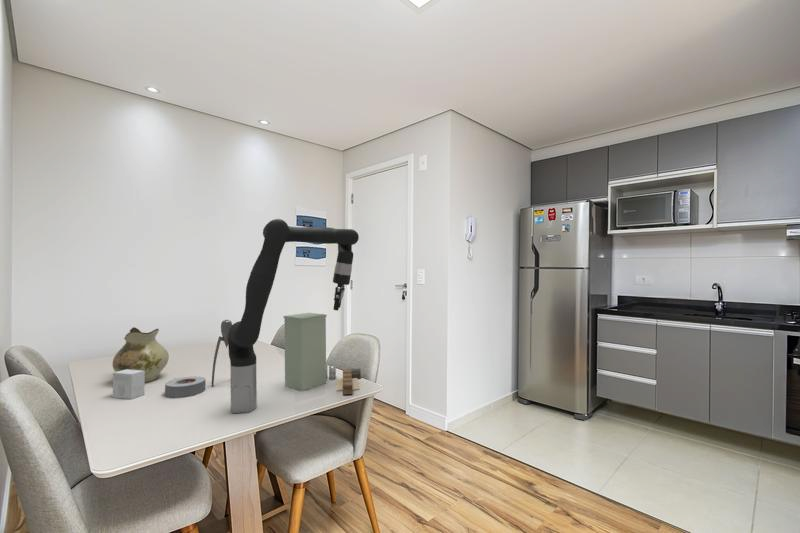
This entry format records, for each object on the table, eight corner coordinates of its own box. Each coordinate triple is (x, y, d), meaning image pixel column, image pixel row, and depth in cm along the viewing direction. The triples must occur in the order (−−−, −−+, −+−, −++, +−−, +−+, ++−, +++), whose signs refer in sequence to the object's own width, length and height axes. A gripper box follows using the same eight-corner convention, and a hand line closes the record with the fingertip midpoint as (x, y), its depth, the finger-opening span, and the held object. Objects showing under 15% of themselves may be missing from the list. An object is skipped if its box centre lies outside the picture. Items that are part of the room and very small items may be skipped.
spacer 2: (335, 379, 181) (335, 367, 181) (329, 379, 181) (328, 367, 181) (335, 377, 185) (335, 365, 185) (329, 377, 184) (329, 365, 184)
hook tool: (363, 393, 160) (363, 385, 160) (342, 394, 158) (342, 386, 158) (360, 375, 185) (360, 368, 185) (342, 376, 184) (342, 369, 184)
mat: (359, 389, 166) (359, 388, 166) (336, 391, 164) (336, 389, 164) (357, 379, 182) (357, 377, 182) (336, 380, 180) (336, 379, 180)
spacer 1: (327, 378, 183) (327, 366, 183) (320, 379, 182) (320, 366, 182) (327, 376, 186) (327, 364, 186) (321, 377, 185) (320, 365, 185)
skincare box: (145, 394, 162) (145, 370, 162) (131, 399, 156) (131, 374, 156) (126, 392, 165) (126, 368, 165) (112, 397, 158) (111, 372, 158)
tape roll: (193, 385, 175) (192, 374, 175) (212, 390, 167) (212, 378, 167) (157, 394, 162) (157, 383, 162) (177, 401, 154) (177, 388, 154)
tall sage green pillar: (327, 382, 176) (326, 314, 176) (302, 391, 164) (301, 318, 164) (309, 378, 184) (308, 312, 183) (283, 386, 172) (283, 316, 172)
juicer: (211, 386, 172) (210, 320, 172) (232, 380, 181) (232, 317, 181) (225, 390, 167) (225, 322, 167) (246, 383, 177) (246, 319, 177)
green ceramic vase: (148, 387, 171) (148, 332, 171) (97, 387, 172) (97, 332, 172) (178, 373, 194) (178, 324, 194) (133, 374, 194) (132, 325, 194)
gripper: (336, 271, 176) (330, 305, 176) (332, 272, 162) (326, 309, 162) (351, 273, 176) (346, 307, 177) (349, 275, 162) (343, 312, 162)
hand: (336, 308), depth 169 cm, fingers open, 8 cm apart
